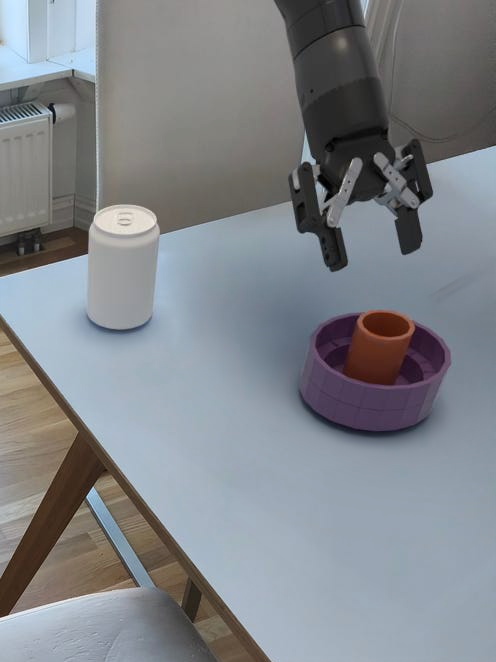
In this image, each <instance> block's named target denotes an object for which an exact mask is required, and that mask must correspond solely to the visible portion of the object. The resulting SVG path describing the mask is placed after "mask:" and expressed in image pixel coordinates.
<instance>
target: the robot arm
mask: <svg viewBox="0 0 496 662" xmlns="http://www.w3.org/2000/svg"><path fill="white" fill-rule="evenodd" d="M273 2H274V4H275V7H276V8H277V10H278V11H279V13H280V16H281V18H282V20H283V23H284V28H285V35H286V38H287V43H288V47H289V52H290V56H291V61H292V65H293V72H294V83H295V91H296V96H297V100H298V105H299V109H300V113H301V117H302V123H303V128H304V131H305V136H306V140H307V146H308V148H309V154H310V157H311V158H312V159H313V160H314V161H315V164H311V162H309V161H303V162H302V163H301V164H299V165H298V166H297V167H296V168H295V169H294V170H293V171H292V172H291V173H289V174H288V176H287V177H288V178H287V181H288V187H289V191H290V197H291V203H292V208H293V214H294V220H295V226H296V230H297V232H298V233H299V234H302V235H304V234H306V233H308V234H309V233H310V234H313V235H315V236H316V237H317V238H318V242H319V247H320V251H321V254H322V259H323V263H324V265H325V267H326V268H328V269H329V271H330V273H335V272H339V271H342V270H343V269H345V268H346V267H347V266H348V265H349V259H348V254H347V249H346V244H345V240H344V236H343V232H342V227H341V226H338V224H339V222H340V218H341V217H342V213H343V210H344V208H345V207H348V206H351V205H353V204H354V203H356V202H361V203H366V202H369V201H371V200H373V201H374V202H375V203H376V204H378V205H379V206H384V207H386V209H388V210H389V212H390V213H391V214H392V215H393V216H394V217H396V219H394V220H393V222H394V226H395V230H396V235H397V240H398V245H399V249H400V253H401V255H402V256H407V255H411V254H413V253H415V252H416V251H418V250H420V249H421V246H422V243H423V239H424V238H423V237H424V235H423V231H422V227H421V222H420V217H419V211H418V210H419V208H420V206H421V205H422V204H424V203H425V202H427V201H428V200H430V199H431V198H432V197H433V196H434V190H433V186H432V185H433V184H432V182H431V178H430V173H429V170H428V167H427V163H426V160H425V156H424V151H423V148H422V144H421V141H420V140H419V139H418V138H412V139H410V141H408V142H406V143H405V144H403V145H399V146H395V147H394V146H393V145H392V143H391V141H390V140H389V128H390V117H389V113H388V109H387V104H386V99H385V95H384V89H383V84H382V80H381V75H380V70H379V65H378V61H377V56H376V53H375V50H374V47H373V44H372V42H371V39H370V36H369V33H368V30H367V24H366V18H365V15H364V10H363V5H362V1H361V0H273ZM317 183H318V184H320V186H321V187H323V189H324V190H325V192H324V195H323V197H322V200H321V203H320V205H319V199H318V192H317V188H316V186H317ZM387 184H388V185H389V186H390V187H388V188H386V187H387ZM337 226H338V227H337Z"/></svg>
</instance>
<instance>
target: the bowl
mask: <svg viewBox="0 0 496 662" xmlns="http://www.w3.org/2000/svg"><path fill="white" fill-rule="evenodd" d="M366 312H367V311H365V312H364V311H363V312H348V313H344V314H341V315H337V316H333V317H331V318H329V319H327V320H325V321H323V322H321V323H320V324H318V325H317V326H316V328H315V329H314V330H313V332H312V333H311V334H310V337H309V341H308V345H307V349H306V352H305V357H304V361H303V365H302V368H301V372H300V377H299V385H298V389H299V391H300V394H301V395H302V398H303V401H304V402H305V403H306V404H307V405H308V406H309V407H310V408H311V409H312V410H313V411H314V412H315V413H317V414H319V415H321V416H322V417H324V418H326V419H327V420H329V421H331V422H333V423H336V424H339V425H343V426H345V427H348V428H352V429H356V430H363V431H370V432H388V431H398V430H401V429H405V428H408V427H409V428H410V427H412V426H415V425H416V424H419V423H421V422H422V421H423V420H424V419H426V418H427V417H428V416H429V415H430V413H431V412H432V410H433V408H434V407H435V405H436V402H437V401H438V398H439V395H440V392H441V390H442V387H443V385H444V382H445V380H446V378H447V375H448V372H449V370H450V367H451V365H452V353H451V349H450V348H449V346H448V345H447V343H446V342H445V340H444V339H443V338H442V336H440V335H439V334H438V333H436V332H435V331H433V330H432V329H431V328H430V327H428V326H426V325H424V324H422V323H419V322H417V321H415V320H413V319H411V320H412V322H413V324H414V326H415V330H414V333H413V336H412V339H411V342H410V345H409V348H408V350H407V353H406V356H405V359H404V362H403V365H402V367H401V370H400V373H399V376H398V379H397V382H396V385H395V386H386V385H378V384H370V383H365V382H362V381H359V380H356V379H352V378H349V377H347V376H345V375H343V374H342V371H343V367H344V364H345V360H346V357H347V354H348V350H349V347H350V343H351V340H352V336H353V333H354V330H355V326H356V323H357V320H358V318H359V317H360V315H361V314H364V313H366Z"/></svg>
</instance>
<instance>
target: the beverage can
mask: <svg viewBox="0 0 496 662" xmlns="http://www.w3.org/2000/svg"><path fill="white" fill-rule="evenodd" d="M157 222H158V221H157V216H156V214H155V213H154V212H153V211H152V210H150V209H149V208H147V207H143V206H141V205H135V204H114V205H110V206H106V207H104V208H102V209H100V210H98V211H97V212H96V213H95V215H94V217H93V221H92V222H91V224H90V225H89V226H90V227H89V229H88V246H87V247H88V249H87V250H88V252H87V255H88V256H87V258H88V259H87V286H86V287H87V288H86V315H87V316H88V318H89V320H91V322H93V323H94V324H96V325H98V326H100V327H103V328H105V329H109V330H110V329H111V330H130V329H134V328H138V327H140V326H142V325H144V324H146V323H147V322H148V321H149V320H150V319H151V317H152V315H153V309H154V300H155V288H156V277H157V268H158V259H159V258H158V256H159V245H160V235H161V230H160V226H159V224H158V223H157Z"/></svg>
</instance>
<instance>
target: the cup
mask: <svg viewBox="0 0 496 662" xmlns="http://www.w3.org/2000/svg"><path fill="white" fill-rule="evenodd" d="M365 312H366V313H364V314H361V315H360V317H359V318H358V320H357V323H356V326H355V330H354V333H353V336H352V340H351V343H350V347H349V350H348V354H347V357H346V360H345V364H344V367H343V371H342V374H343V375H345V376H347V377H349V378H352V379H356V380H359V381H362V382H365V383H370V384H378V385H386V386H395V385H396V382H397V379H398V376H399V373H400V370H401V367H402V365H403V362H404V359H405V356H406V353H407V350H408V348H409V345H410V342H411V339H412V336H413V333H414V330H415V326H414V324H413V322H412V320H413V319H410V318H409V317H408V316H407V315H405V314H403V313H400V312H397V311H395V310H388V309H373V310H368V311H365Z"/></svg>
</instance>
